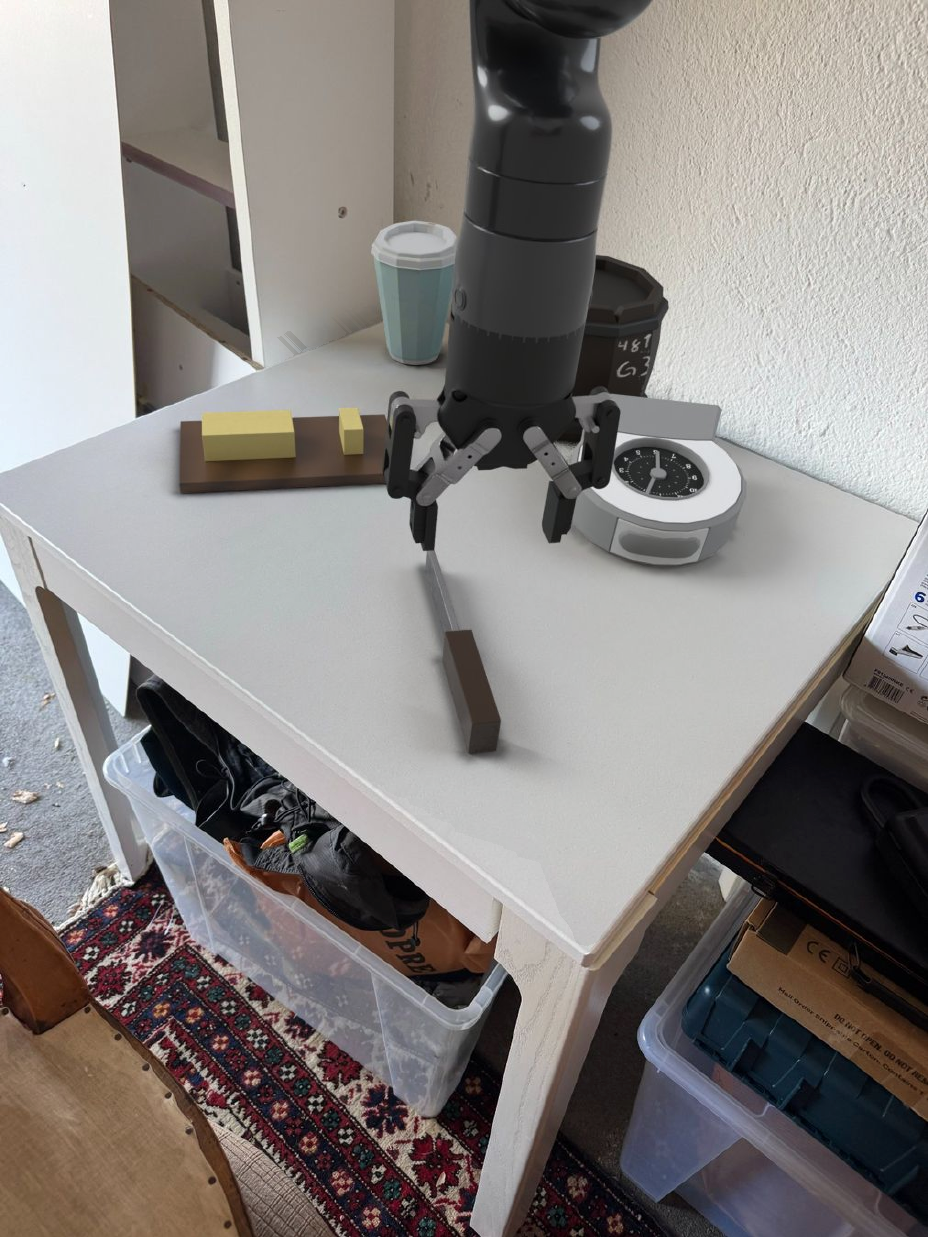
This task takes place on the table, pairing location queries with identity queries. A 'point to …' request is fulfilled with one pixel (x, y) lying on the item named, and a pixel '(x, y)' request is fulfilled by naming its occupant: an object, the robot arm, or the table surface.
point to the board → (287, 459)
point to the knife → (464, 671)
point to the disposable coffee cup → (415, 287)
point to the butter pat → (351, 431)
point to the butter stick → (248, 435)
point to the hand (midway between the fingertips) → (488, 539)
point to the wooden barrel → (618, 333)
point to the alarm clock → (663, 485)
